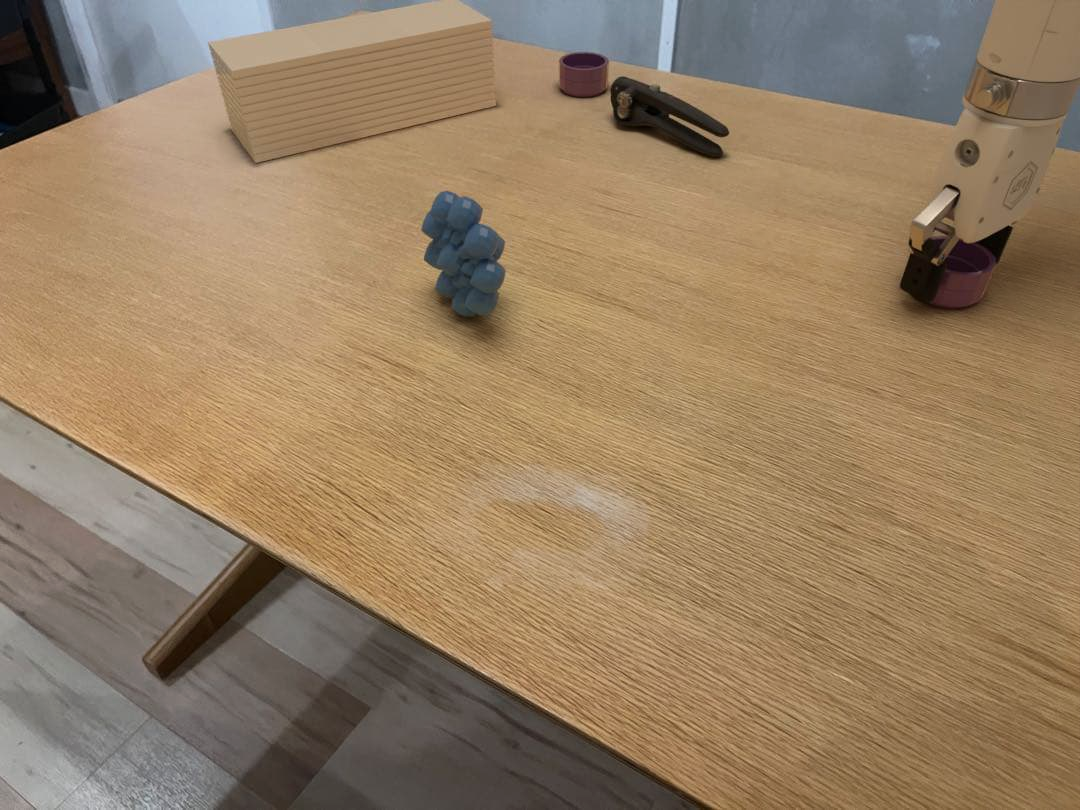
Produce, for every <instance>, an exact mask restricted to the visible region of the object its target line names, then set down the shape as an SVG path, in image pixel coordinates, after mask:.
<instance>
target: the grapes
mask: <svg viewBox="0 0 1080 810" xmlns="http://www.w3.org/2000/svg"><path fill="white" fill-rule="evenodd" d="M483 210H484V208H483V207H482V206H481V205H480V204H479V202H477V201H476V200H475V199H473V198H471V197H468V196H466V195H463V196H459V195H458V194H456V193H455V192H452V191H450V190H443V191H440V192H439V193H438V194H437V195H436V196H435V198H434V200H433V202H432V205H431V207H430V210H429V211H428V212H427V213H426V215H425V217H424V218H423V222H422V225H421V232H423V234H424V235H425V236H426V237H428V238H429V239H431V240H430V242H429V243H428V244H427V246H426V249H425V251H424V256H423V261H424V262H425V263H427V264H428V266H430V267H431V268H433V269H436V270H439V271H441V272H440V273H439V275H438V277H437V279H436V283H435V288H434V290H435V291H436V292H438V293H439V294H440V295H441V296H443V297H445V298H447V299H450V300H452V301H451V302H452V303H451V306H450V308H451V309H452V310H453V311H454V312H456V313H457V314H459V315H461V316H463V317H466V318H467V317H469V318H470V317H475V316H476V315H479V316H489V315H490V314H491V313H493V312H494V311H495V310H496V308H497V305H498V303H499V298H500V292H499V290H500V289H501V288H502V286H503V283H504V282H505V278H506V272H507V269H506V268H505V267H504V266H503V265H501V264H500V263H499V262H498V261H499V260H500V259H501V258H502V255H503V253H504V251H505V246H506V241H505V240H504V238H503V237H502V236H500V234H498V232H497V231H495V229H493V228H492V227H491V226H488V225H486V224H483V223H480V222H481V220H482V216H483Z"/></svg>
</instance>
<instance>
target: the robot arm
mask: <svg viewBox="0 0 1080 810" xmlns="http://www.w3.org/2000/svg"><path fill="white" fill-rule="evenodd" d="M977 51H978V52H977V54H976V58H975V60H974V62H973V66H972V69H971V72H970V75H969V78H968V82H967V84H966V87H965V90H964V92H963V96H962V100H961V103H962V105H963V107H964V109H963V110H962V113H961V114H960V116H959V119H958V120H957V123H956V125H955V127H954V129H953V131H952V133H951V136H950V138H949V140H948V142H947V145H946V147H945V149H944V152H943V154H942V157H941V159H940V162H939V164H938V166H937V170H936V172H935V174H934V177H933V180H932V183H931V185H930V188H929V191H928V194H927V196H926V200H925V204H924V208H923V209H922V211H921V212H919V214H917V216H916V217H915V218H914V219H913V220H912V221H911V223H910V226H909V237H908V243H907V244H908V246H909V247H908V253H909V256H908V259H907V262H906V265H905V268H904V271H903V273H902V277H901V280H900V283H899V288H900V289H901V290H902V291H904V292H905V293H908V294H909V295H911V296H913V297H914V298H917V299H919V300H921V301H922V302H924V303H926V304H929V303H930V302H932V301H933V300H934V299H935V297H936V294H937V292H938V289H939V286H940V284H941V281H942V278H943V276H944V273H945V270H946V268H947V265H948V263H946V262H944V260H945V258H946V257H947V256H948V254H949V253H950V252H951V250H952V249H953V247H954V246H955V245H956V243H957V242H958V240H959V239H963V241H964V242H965V243H974V242H976V243H978V244H980V245H981V246H983V247H985V248H987V249H988V250H989V251H990V252H991V253H992V254H993V255H994V256H995V260H996V265H997V264H998V263H999V262H1000V260H1001V257H1002V255H1003V253H1004V250H1005V248H1006V246H1007V243H1008V242H1009V239H1010V236H1011V234H1012V232H1013V230H1014V227H1013V225H1014V226H1015V224H1016V223H1018V221H1019V220H1021V219H1022V218H1023V217H1025V216H1026V215H1027V214H1028V213H1030V212H1031V210H1032V209H1033V207H1034V206H1035V203H1036V200H1037V198H1038V195H1039V193H1040V190H1041V188H1042V185H1043V183H1044V180H1045V177H1046V175H1047V172H1048V170H1049V167H1050V164H1051V161H1052V159H1053V156H1054V153H1055V149H1056V147H1057V144H1058V141H1059V139H1060V135H1061V132H1062V128H1063V125H1064V121H1065V120H1066V119H1067V116H1068V114H1069V112H1070V110H1071V107H1072V105H1073V102H1074V100H1075V98H1076V95H1077V93H1078V90H1079V88H1080V0H995V1H994V3H993V6H992V9H991V13H990V15H989V18H988V22H987V24H986V27H985V30H984V33H983V36H982V39H981V42H980V45H979V48H978V50H977ZM945 218H946V219H948V220H950V221H953V222H954V223H953V224H954V226H951V225H949V224H947V223H945V222H943V221H942V220H943V219H945ZM935 231H936V232H939V233H941V234H943V235H944V236H947V238H946V239H945V240H944V242H943V243H942V245H941V246H940V247H938V246H937V244H936V242H935V240H933V239H931V237H933V236H934V233H935Z"/></svg>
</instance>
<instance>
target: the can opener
mask: <svg viewBox="0 0 1080 810" xmlns="http://www.w3.org/2000/svg"><path fill="white" fill-rule="evenodd" d="M609 90H610V103H611V107H612V111H613V113H612V115H613V118H614V120H615V122H617V123H618V124H620V125H623V126H627V127H644V126H645V127H646V126H649V127H653V128H655V129H657V130H660V131H661V132H663V133H664V134H667V135H668V136H670V137H672V138H673V139H674V140H676V141H678V142H679V143H681V144H682V145H684V146H686V147H688V148H690V149H692V150H694V151H696V152H699V153H701V154H704V155H707V156H709V157H713V158H714V157H719V156H721V155H723V153H724V151H723V148H722V147H721V145H720V144H718V143H716V142H714V141H713V140H712V139H710V138H708V137H706V136H704V135H703V134H701V133H699V132H697V131H696V130H694V129H692V128H690V127H689V126H687V125H684V124H683V123H681V122H679V121H677V120H676V119H674V118H671V116H672V117H675V118H677V119H680V120H681V121H684V122H686V123H688V124H690V125H692V126H694V127H697V128H699V129H701V130H703V131H705V132H706V133H709V134H710V135H713V136H715V137H718V138H726V137H728V136H729V135H730V130H729V128H728V126H726V125H725V124H723V123H722V122H720V121H719V120H717V119H715V117H713V116H711V115H709V114H708V113H706V112H705V111H703V110H701V109H699V108H698V107H696V106H694V105H692V104H690V103H688V102H686V101H685V100H683V99H681V98H679V97H677V96H675V95H673V94H670V93H669V92H666V91H662V90H661V86H660V85H658V84H655V83H654V84H647V83H644V82H642V81H639V80H637V79H633V78H630V77H627V76H618V77H617V78H615V79H614V80H613V82H612V83H611V86H610V89H609Z"/></svg>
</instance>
